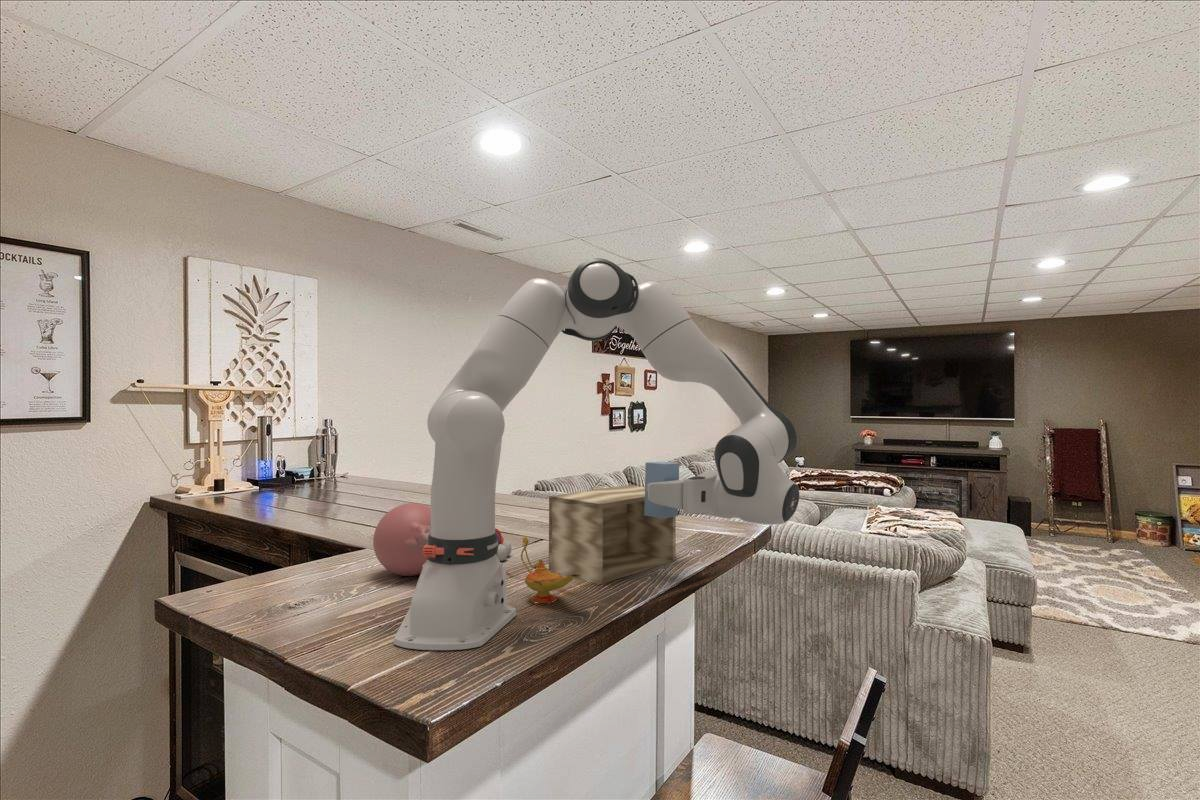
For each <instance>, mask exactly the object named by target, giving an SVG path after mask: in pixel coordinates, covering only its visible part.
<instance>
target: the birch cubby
mask: <svg viewBox="0 0 1200 800" xmlns="http://www.w3.org/2000/svg"><path fill="white" fill-rule="evenodd" d="M644 509H645V486H637V485H631V484H630V485H628V484H624V485H618V486H612V487H603V488H597V489H590V490H584V491H577V492H570V493H561V494H554V495H549V496H548V571H549V572H554V573H557V574H559V575H565V576H569V575H575V574H580V575H581V576H580V577H575V578H574V579H579V580H581V581H585V582H588V583H593V584H596V585H603V584H606V583H607V582H611V581H615V580H617V579H618V580H619V579H621V578H624V577H627V576H630V575H634V574H636V573H639V572H642V571H646V570H649V569H652V568H653V569H654V568H655V567H658V566H662V565H666V564H668V563H671V562H674V561H676V559H677V558H676V555H677V552H676V551H677V550H676V549H677V548H676V547H677V546H676V543H677V542H676V541H677V540H676V539H677V537H676V536H677V535H676V529H677V528H676V526H677V525H676V522H677V521H676V520H677V519H676V517H677V516H675V517H670V518H664V519H663V518H657V517H651V516H646V515H644Z"/></svg>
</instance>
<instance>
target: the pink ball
mask: <svg viewBox="0 0 1200 800" xmlns="http://www.w3.org/2000/svg"><path fill="white" fill-rule="evenodd" d="M429 534H431V506H428V505H426V504H422V503H417V502H408V503H404V504H401V505H397V506H395V507H393V508H392V509H391V510H390V509H389V511H388V512H387V513H385V514H384V515H383V516H382V517H381V518H380V520H379V522H378V523H377V525H376V527H375V530H374V533H373V539H372V542H373V544H372V545H373V551H374V554H375V556H376V558H377V560H378V562H379V563H380V564H381V565H382V566H383V568H385V569H386V570H387V571H388V572H391V573H393V574H395V575H399V576H403V577H412V576H418V575H419V576H420V574H421V571H422V568H423V565H424V564H425V563H426V561H427V559H426V558H424V557H423V549H424V548H423V547H424V546H425V545H427V542H428V536H429Z"/></svg>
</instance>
